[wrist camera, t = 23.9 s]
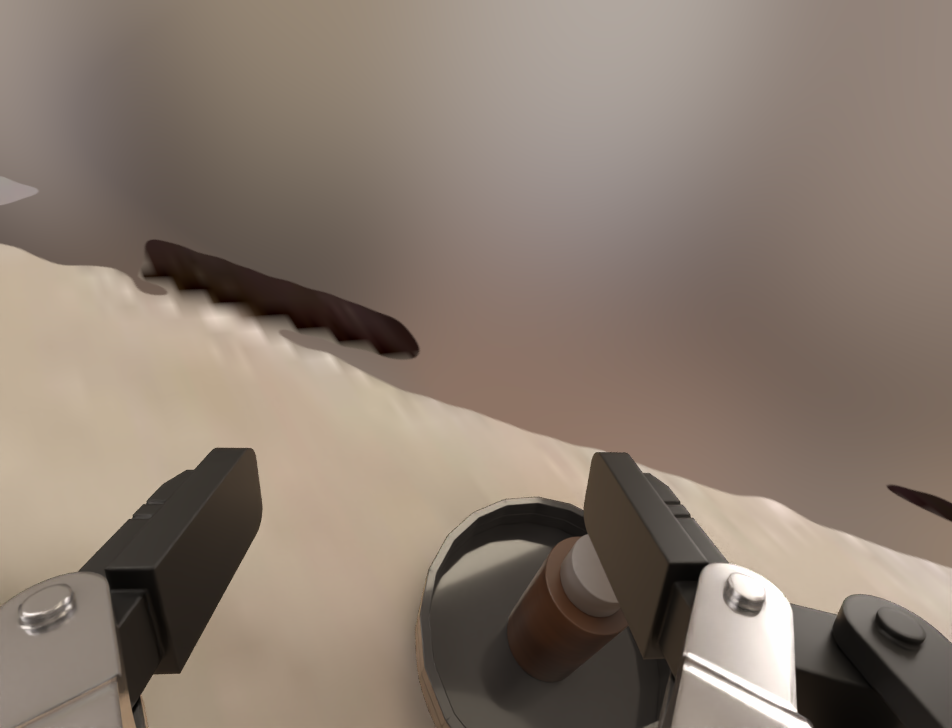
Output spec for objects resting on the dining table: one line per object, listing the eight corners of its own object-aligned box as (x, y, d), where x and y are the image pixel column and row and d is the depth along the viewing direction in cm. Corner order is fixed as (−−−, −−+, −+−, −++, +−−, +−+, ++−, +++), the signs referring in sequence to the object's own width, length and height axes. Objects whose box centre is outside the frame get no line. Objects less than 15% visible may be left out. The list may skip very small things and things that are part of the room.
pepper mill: (503, 673, 28) (557, 608, 21) (509, 588, 32) (556, 510, 25) (583, 689, 28) (664, 631, 21) (578, 603, 32) (645, 529, 25)
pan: (383, 783, 24) (387, 775, 21) (440, 500, 37) (446, 476, 34) (692, 842, 24) (727, 840, 22) (640, 543, 37) (659, 522, 35)
